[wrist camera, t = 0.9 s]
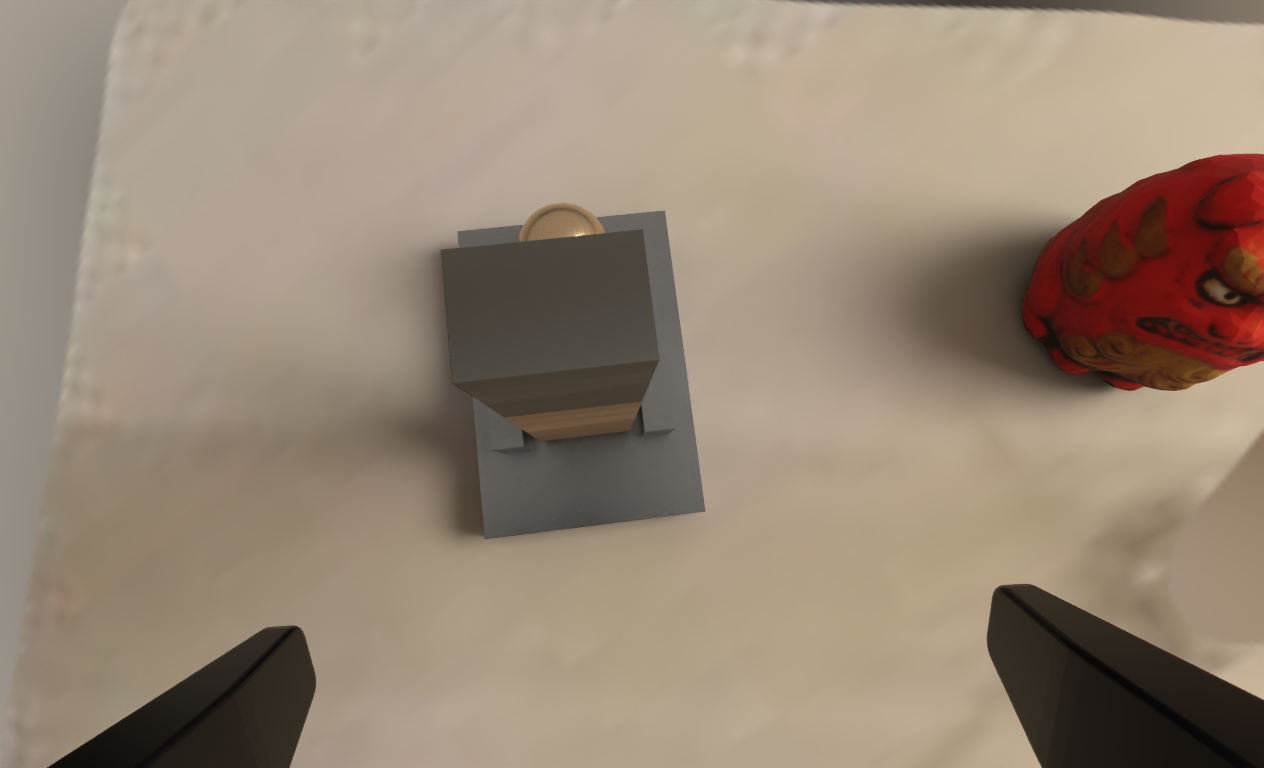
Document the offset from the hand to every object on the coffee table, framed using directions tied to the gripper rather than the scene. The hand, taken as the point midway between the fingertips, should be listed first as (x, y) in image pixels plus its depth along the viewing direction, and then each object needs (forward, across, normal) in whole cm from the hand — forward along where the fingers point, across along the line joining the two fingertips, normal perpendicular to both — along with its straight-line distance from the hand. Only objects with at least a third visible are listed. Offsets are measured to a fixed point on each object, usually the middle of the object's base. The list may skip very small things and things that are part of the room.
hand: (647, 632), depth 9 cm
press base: (+17, +2, +2) cm, 17 cm away
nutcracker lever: (+14, +2, +2) cm, 14 cm away
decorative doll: (+19, -18, +1) cm, 26 cm away
